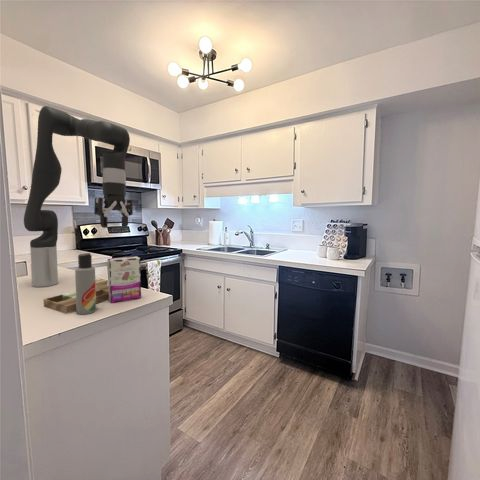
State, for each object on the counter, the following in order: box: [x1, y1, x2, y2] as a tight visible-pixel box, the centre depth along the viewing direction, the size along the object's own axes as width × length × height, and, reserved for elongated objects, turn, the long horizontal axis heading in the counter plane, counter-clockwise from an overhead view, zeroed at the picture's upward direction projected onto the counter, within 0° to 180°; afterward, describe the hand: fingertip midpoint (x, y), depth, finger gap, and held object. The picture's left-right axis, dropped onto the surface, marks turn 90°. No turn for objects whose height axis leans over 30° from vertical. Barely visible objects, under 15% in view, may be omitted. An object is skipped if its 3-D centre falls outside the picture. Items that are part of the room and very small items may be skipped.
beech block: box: [95, 277, 108, 290], centre depth 105 cm, size 5×5×3 cm
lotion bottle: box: [74, 252, 97, 315], centre depth 86 cm, size 6×6×20 cm
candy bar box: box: [107, 256, 142, 304], centre depth 99 cm, size 11×5×16 cm, turn 126°
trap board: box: [43, 287, 109, 314], centre depth 97 cm, size 13×22×2 cm, turn 155°
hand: (114, 227), depth 94 cm, fingers open, 8 cm apart
